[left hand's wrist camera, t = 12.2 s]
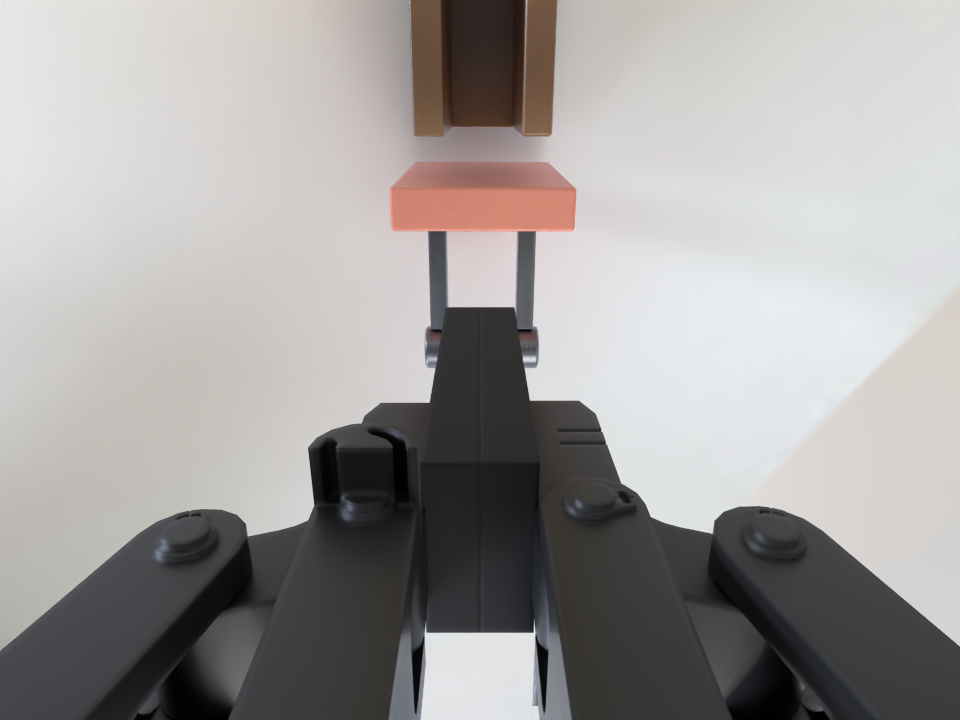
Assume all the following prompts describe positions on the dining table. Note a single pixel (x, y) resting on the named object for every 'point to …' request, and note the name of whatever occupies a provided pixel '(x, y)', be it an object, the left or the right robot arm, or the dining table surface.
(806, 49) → the dining table surface
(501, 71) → the drawer
